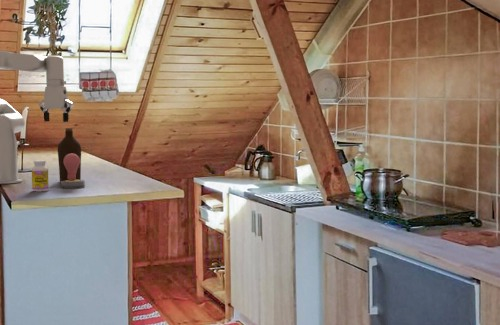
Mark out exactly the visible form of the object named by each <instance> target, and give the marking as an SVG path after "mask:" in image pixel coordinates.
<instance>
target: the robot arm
mask: <svg viewBox="0 0 500 325" xmlns="http://www.w3.org/2000/svg"><path fill="white" fill-rule="evenodd" d="M0 70H2V71H20V72H21V71H22V72H29V73H30V72H31V73H46V76H45V77H46V80H45V82H46V86H44V87H45V88H44V94H43V95H44V96H43V99H42V100H41V101H39V102H38V106H39V108H40V110H41V112H42V114H43V120H44V122H50V112H49V111H50V110H52V109H55V110H56V109H57V110H59V109H61V110H62V112H63V113H62V122H63V123H68V122H69V119H70V118H69V113H70V112H71V110H72V109H73V107H74V102H72V101H70V100H69V97H68V91H67V87H66V86H65V84H67V81H66V80H65V77H64V73H65V72H64V58H63V57H62V56H60V55H47V56H44V55H40V54H29V53H20V52H19V53H17V52H12V51H9V50H8V51H7V50H0ZM24 128H25V119H24V118H23V116H22V115H21V114H20V113H19V112H18V111H17V110H16V109H15V108H13V106H12V105H10V104H9V103H8V102H7V101H6V100H5V99H2V98H0V185H4V184H5V185H6V184H17V183H21V182H23V179H22V178H19V165H18V164H19V163H18V162H19V161H18V159H19V158H18V141H17V136H16V134H17V133H20V132H22V131H23V129H24Z"/></svg>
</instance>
